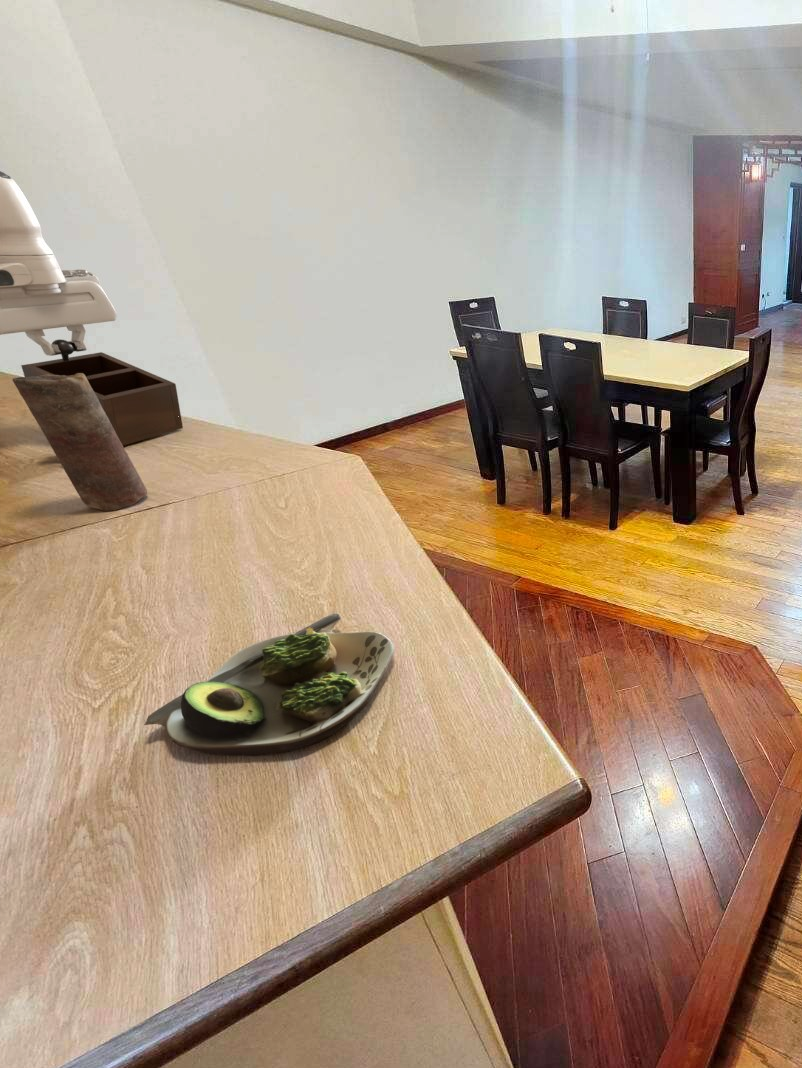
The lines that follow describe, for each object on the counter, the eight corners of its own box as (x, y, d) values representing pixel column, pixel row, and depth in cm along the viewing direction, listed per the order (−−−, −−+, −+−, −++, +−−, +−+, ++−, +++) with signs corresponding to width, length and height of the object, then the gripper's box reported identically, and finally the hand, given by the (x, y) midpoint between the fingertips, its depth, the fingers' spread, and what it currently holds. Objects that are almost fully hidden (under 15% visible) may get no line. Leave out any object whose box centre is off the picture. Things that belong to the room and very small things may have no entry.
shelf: (32, 413, 111) (10, 343, 104) (108, 396, 123) (93, 331, 115) (114, 448, 112) (98, 380, 104) (183, 428, 123) (172, 365, 116)
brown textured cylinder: (72, 508, 91) (-4, 377, 81) (125, 490, 97) (61, 366, 87) (110, 515, 89) (38, 382, 80) (161, 496, 96) (100, 371, 86)
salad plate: (267, 626, 68) (252, 593, 66) (426, 626, 69) (417, 593, 67) (125, 760, 51) (98, 722, 49) (338, 757, 52) (322, 720, 50)
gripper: (79, 267, 114) (113, 342, 120) (-65, 274, 96) (-16, 361, 103) (106, 269, 113) (139, 345, 119) (-35, 277, 95) (13, 364, 102)
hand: (66, 352), depth 111 cm, fingers closed on shelf, 3 cm apart
